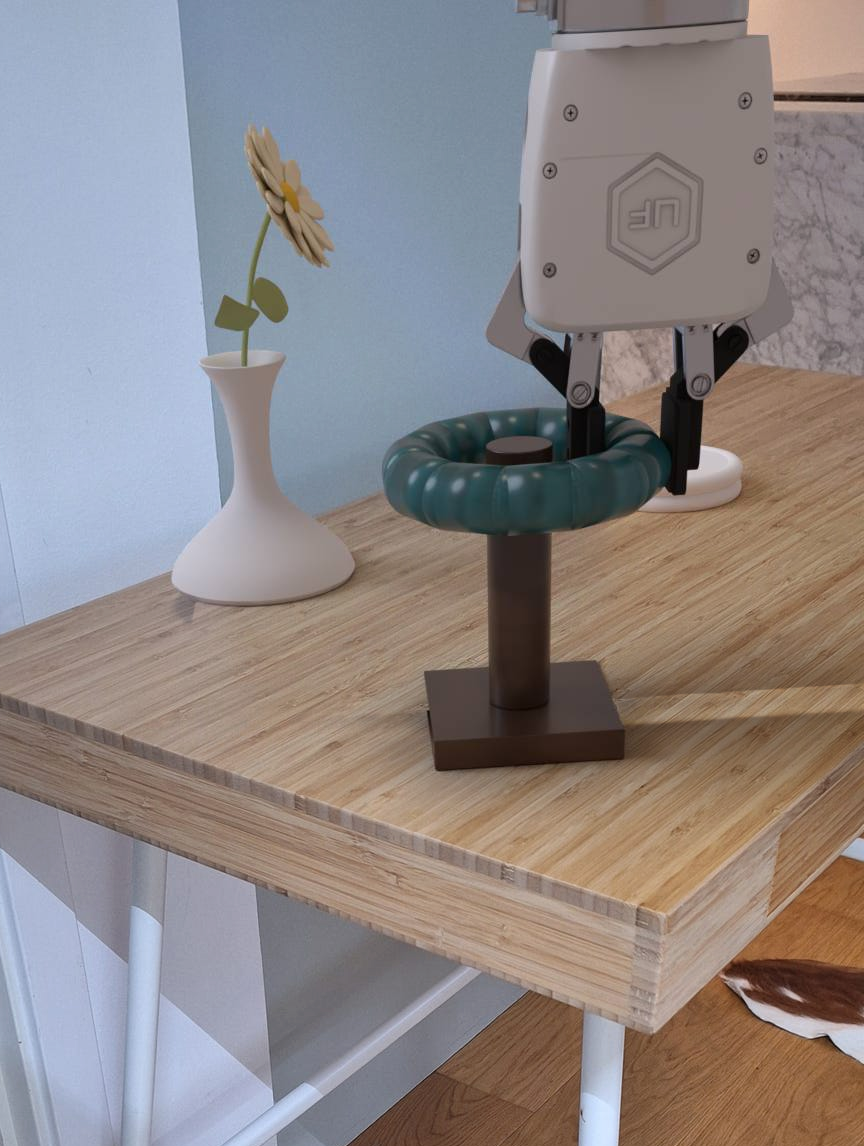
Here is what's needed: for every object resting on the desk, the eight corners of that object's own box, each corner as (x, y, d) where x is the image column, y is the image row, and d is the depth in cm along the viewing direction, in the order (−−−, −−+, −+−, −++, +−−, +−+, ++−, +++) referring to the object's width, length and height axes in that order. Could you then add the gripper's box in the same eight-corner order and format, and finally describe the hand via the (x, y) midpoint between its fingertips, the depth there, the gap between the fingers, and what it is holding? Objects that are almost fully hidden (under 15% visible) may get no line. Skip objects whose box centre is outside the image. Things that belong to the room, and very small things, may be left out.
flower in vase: (286, 640, 85) (239, 137, 71) (137, 613, 91) (65, 140, 76) (405, 574, 94) (385, 114, 80) (262, 552, 99) (219, 118, 85)
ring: (638, 453, 72) (641, 393, 71) (692, 530, 62) (696, 461, 60) (380, 473, 72) (376, 413, 71) (390, 553, 62) (386, 485, 60)
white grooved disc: (564, 519, 102) (565, 467, 100) (644, 485, 108) (647, 435, 106) (689, 542, 96) (693, 487, 94) (766, 505, 102) (771, 452, 100)
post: (595, 687, 77) (604, 414, 69) (623, 758, 70) (637, 462, 62) (424, 697, 77) (413, 427, 69) (435, 770, 70) (424, 476, 62)
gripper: (443, 14, 53) (458, 526, 64) (893, -18, 53) (833, 501, 64) (431, 13, 60) (446, 481, 70) (835, -16, 59) (788, 457, 70)
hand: (631, 486), depth 67 cm, fingers closed on ring, 3 cm apart
